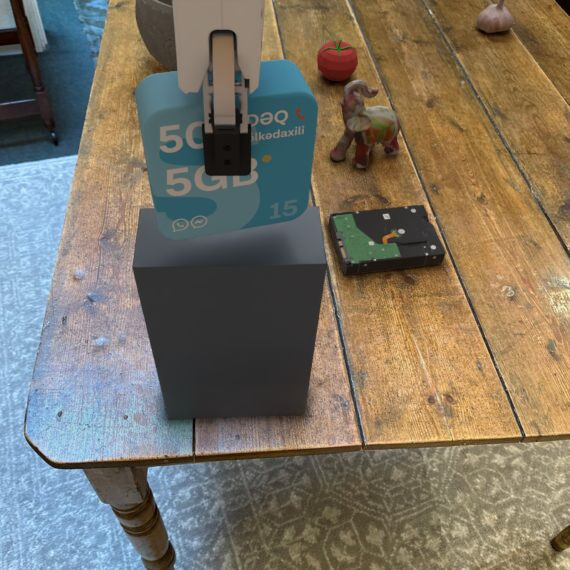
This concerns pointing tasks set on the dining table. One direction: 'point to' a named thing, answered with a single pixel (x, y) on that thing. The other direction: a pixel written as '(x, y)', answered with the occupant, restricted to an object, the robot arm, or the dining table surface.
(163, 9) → the bowl
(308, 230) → the plinth
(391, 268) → the disk drive
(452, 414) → the dining table surface
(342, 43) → the tomato
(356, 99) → the figurine
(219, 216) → the data package
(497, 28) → the garlic bulb
